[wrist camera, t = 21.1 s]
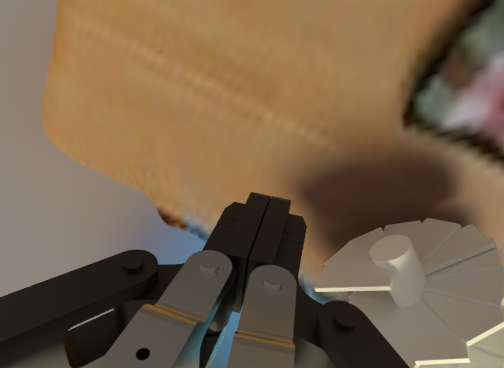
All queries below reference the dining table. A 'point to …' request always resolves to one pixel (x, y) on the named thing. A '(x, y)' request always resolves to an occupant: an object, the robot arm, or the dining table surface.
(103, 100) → the dining table surface
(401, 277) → the spiral staircase
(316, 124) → the dining table surface
